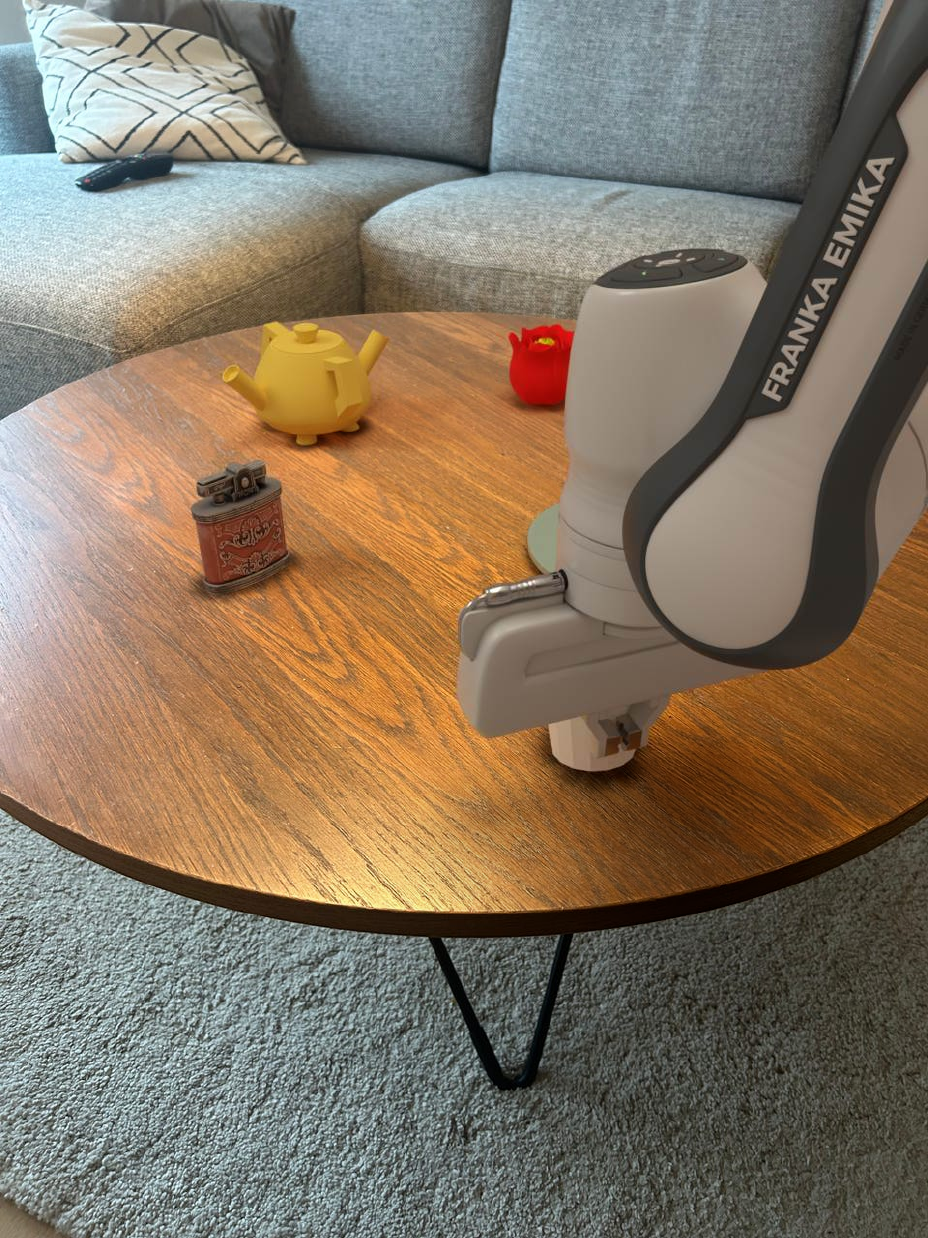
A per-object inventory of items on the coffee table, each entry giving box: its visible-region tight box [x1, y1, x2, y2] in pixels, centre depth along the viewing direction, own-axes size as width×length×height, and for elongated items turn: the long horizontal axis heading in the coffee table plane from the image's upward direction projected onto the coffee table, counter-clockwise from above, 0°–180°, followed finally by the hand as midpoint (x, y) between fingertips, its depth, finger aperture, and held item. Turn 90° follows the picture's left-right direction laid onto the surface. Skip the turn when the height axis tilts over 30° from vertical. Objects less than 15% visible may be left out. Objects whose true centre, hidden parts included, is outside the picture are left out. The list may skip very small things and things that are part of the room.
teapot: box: [221, 320, 390, 446], centre depth 107 cm, size 20×18×11 cm
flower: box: [508, 323, 575, 406], centre depth 114 cm, size 8×8×8 cm
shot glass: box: [547, 704, 637, 772], centre depth 65 cm, size 7×7×7 cm
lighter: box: [190, 459, 291, 596], centre depth 83 cm, size 8×3×10 cm, turn 135°
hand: (615, 746), depth 63 cm, fingers closed on shot glass
